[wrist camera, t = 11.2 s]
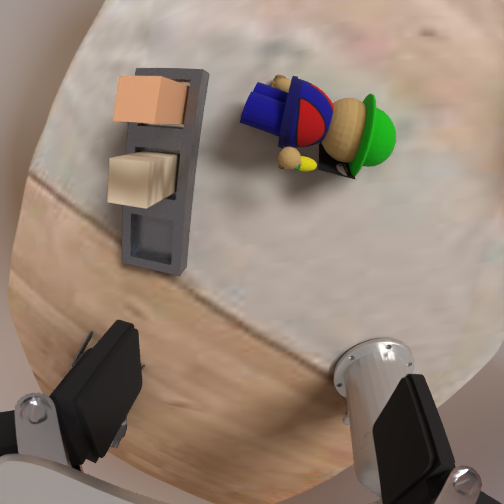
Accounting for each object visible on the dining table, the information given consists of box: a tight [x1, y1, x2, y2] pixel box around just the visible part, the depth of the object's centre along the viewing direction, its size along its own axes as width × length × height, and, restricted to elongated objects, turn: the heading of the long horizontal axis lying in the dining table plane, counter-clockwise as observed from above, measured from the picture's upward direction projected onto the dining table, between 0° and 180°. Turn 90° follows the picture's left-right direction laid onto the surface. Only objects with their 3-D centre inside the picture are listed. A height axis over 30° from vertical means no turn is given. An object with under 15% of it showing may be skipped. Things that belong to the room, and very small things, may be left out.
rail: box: [122, 68, 209, 276], centre depth 35 cm, size 24×8×3 cm, turn 171°
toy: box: [240, 75, 396, 179], centre depth 28 cm, size 12×9×15 cm
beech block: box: [108, 151, 179, 209], centre depth 32 cm, size 4×4×8 cm
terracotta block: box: [113, 76, 189, 124], centre depth 28 cm, size 4×4×8 cm
